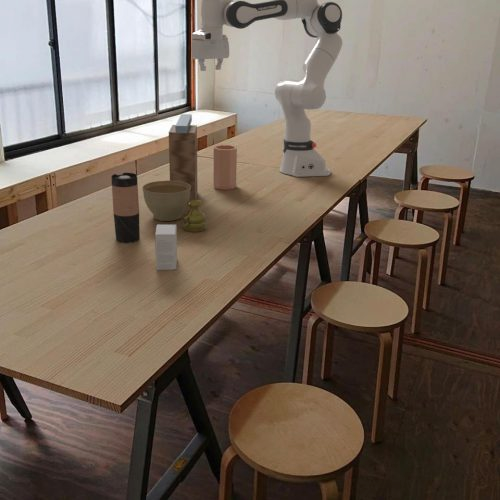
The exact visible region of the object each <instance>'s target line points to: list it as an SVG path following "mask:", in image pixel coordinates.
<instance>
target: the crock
mask: <svg viewBox="0 0 500 500" xmlns="http://www.w3.org/2000/svg"><path fill="white" fill-rule="evenodd" d="M237 147H238V146H236V145H232V144H218V145H214V146H213V188H214V189H216V190H221V191H230V190H234V189H236V188H237V158H238V157H237V156H238V155H237V154H238V153H237V151H238V149H237Z"/></svg>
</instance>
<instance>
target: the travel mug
mask: <svg viewBox="0 0 500 500" xmlns="http://www.w3.org/2000/svg"><path fill="white" fill-rule="evenodd" d="M138 185H139V184H138V175H137V174H136V173H133V172H123V173H122V174H117V173H114V174H112V175H111V191H112V192H111V193H112V194H111V195H112V196H111V197H112V208H113V209H112V210H113V211H112V212H113V220H114V221H113V222H114V232H115V240H116V241H117V242H118V241H119V243H121V242H124V243H123V244H130V243H129V242H132V243H135V242H134V241H136V242H138V241H140V236H141V233H140V232H141V231H140V203H139V201H140V200H139V188H138V187H139V186H138ZM137 240H138V241H137Z"/></svg>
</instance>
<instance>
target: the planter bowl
mask: <svg viewBox="0 0 500 500" xmlns="http://www.w3.org/2000/svg"><path fill="white" fill-rule="evenodd" d="M141 189H142V192H143V193H142V195H143V198H144V202H145V204H146V206H147V208H148V211H150V212H151V214H152V216H153V218H154V220H157V221H161V222H169V221H170V222H173V221H176V220H179V219H181V218H183V213H184V212H185V210H186V209H187V207H188V205H187V202H188V201H189V199H190V190H191V186H190V184H188V183H185V182H181V181H170V180H157V181H151V182H148V183H145V184H144V185H142V188H141Z"/></svg>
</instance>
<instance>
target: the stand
mask: <svg viewBox="0 0 500 500" xmlns="http://www.w3.org/2000/svg"><path fill="white" fill-rule="evenodd" d="M175 126H176V124H172V125H171V127H170V129H169V131H168V157H169V158H168V159H169V164H168V165H169V181H181V182H185V183H188V184H190V186H191V190H190V199H189V200H192V199H198V198H197V197H198V125H194V124H193V125H191V124H190V127H189V130H188V132H187V133H176V131H175Z"/></svg>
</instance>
